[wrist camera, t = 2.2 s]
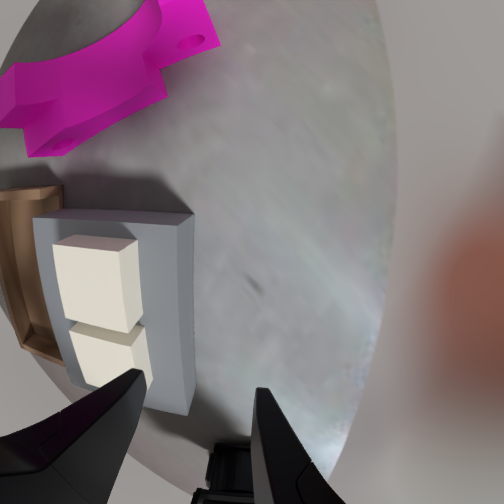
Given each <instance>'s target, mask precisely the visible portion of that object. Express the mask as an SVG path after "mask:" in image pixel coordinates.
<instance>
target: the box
mask: <svg viewBox="0 0 504 504" xmlns="http://www.w3.org/2000/svg"><path fill="white" fill-rule="evenodd" d="M62 208H63V185H49V186H33V187H20V188H9V189H5V190H0V282H1V286H2V290H3V294H4V298H5V301H6V305H7V308H8V312H9V315H10V318H11V321H12V324H13V327H14V330H15V333H16V336H17V338H18V341H19V344H20V346H21V348H23V349H25V350H27V351H29V352H31V353H33V354H35V355H38V356H40V357H42V358H44V359H47V360H49V361H51V362H54V363H56V364H59V365H61V366H64V367H65V364H64V361H63V359H62V356H61V353H60V350H59V347H58V344H57V341H56V338H55V335H54V331H53V328H52V325H51V321H50V317H49V314H48V310H47V306H46V302H45V297H44V293H43V288H42V284H41V278H40V273H39V267H38V261H37V255H36V248H35V240H34V230H33V219H32V218H33V217H36V216H39V215H42V214H46V213H49V212H52V211H56V210H59V209H62Z"/></svg>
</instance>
